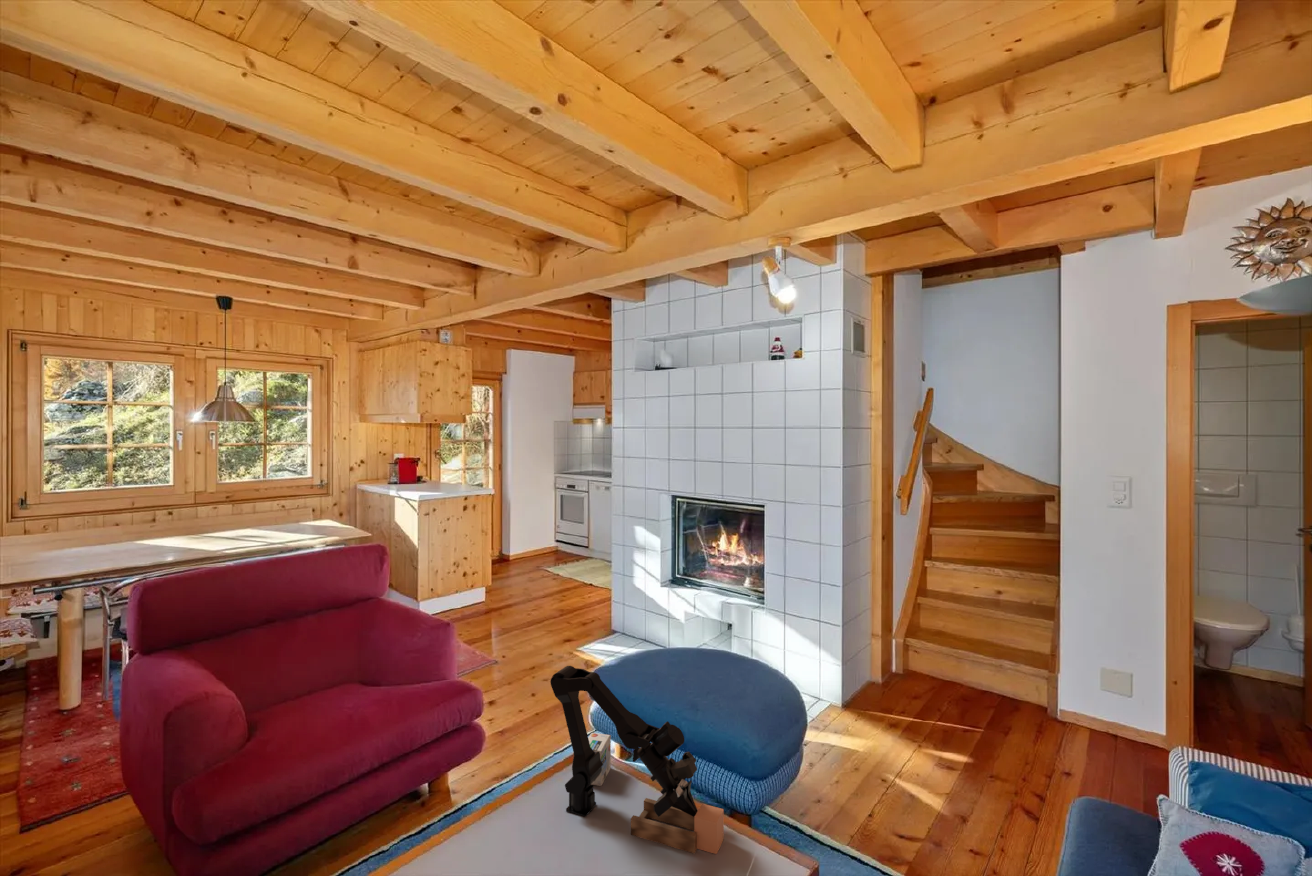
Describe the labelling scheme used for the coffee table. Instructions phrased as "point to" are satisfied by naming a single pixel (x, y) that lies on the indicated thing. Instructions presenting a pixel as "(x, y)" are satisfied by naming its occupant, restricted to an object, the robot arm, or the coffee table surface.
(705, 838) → the terracotta block
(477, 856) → the coffee table surface
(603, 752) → the light bulb box
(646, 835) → the walnut chute
